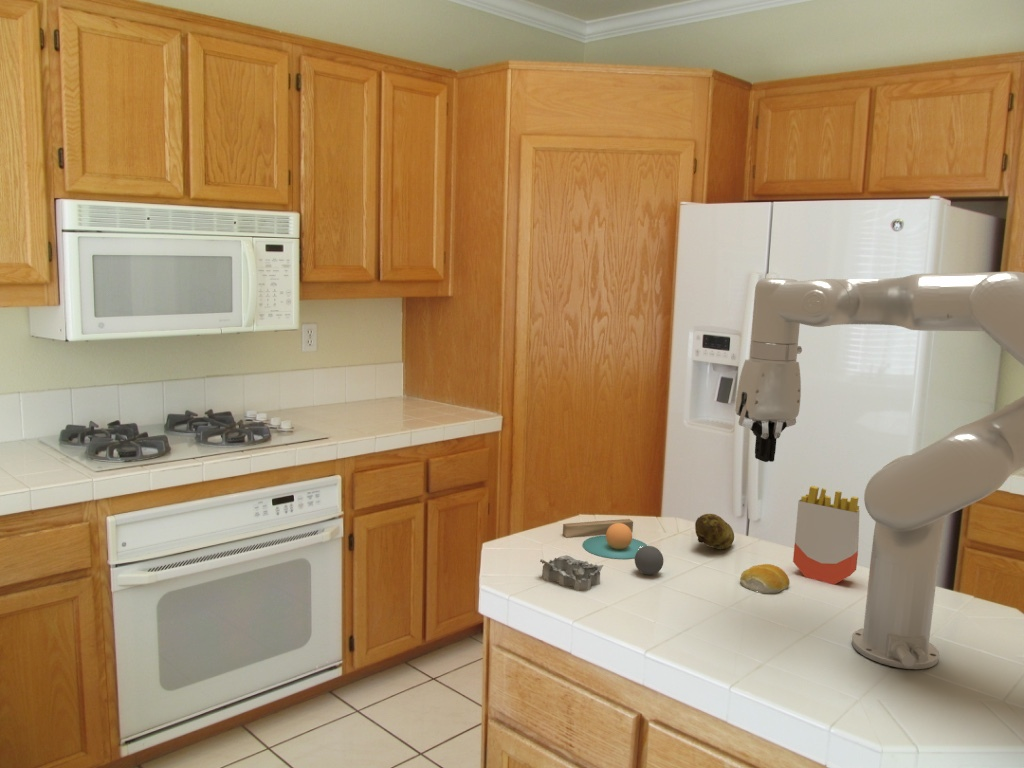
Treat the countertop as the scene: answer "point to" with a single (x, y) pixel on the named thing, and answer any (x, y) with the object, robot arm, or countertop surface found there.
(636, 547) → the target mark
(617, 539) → the object ball
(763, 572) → the bread roll
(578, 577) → the egg carton
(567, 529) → the wooden block
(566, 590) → the countertop surface
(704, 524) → the potato
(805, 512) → the french fries container
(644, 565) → the dark gray ball
